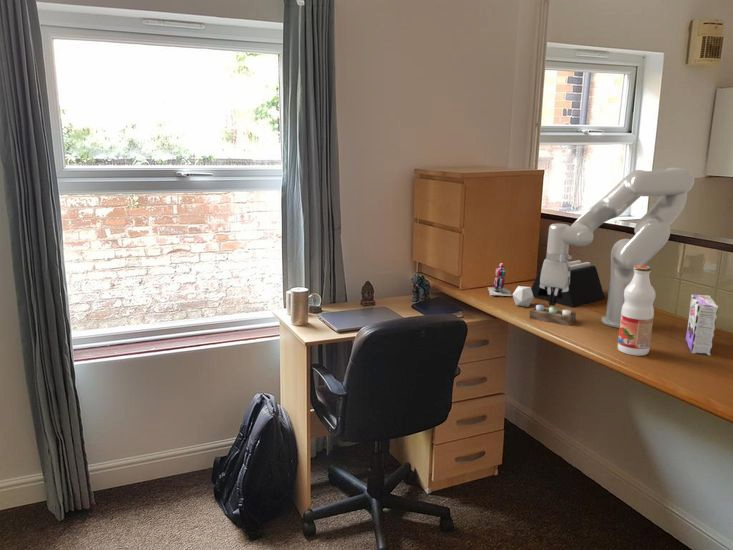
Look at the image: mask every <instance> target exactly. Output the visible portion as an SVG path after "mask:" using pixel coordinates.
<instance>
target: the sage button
mask: <svg viewBox="0 0 733 550" xmlns="http://www.w3.org/2000/svg"><path fill="white" fill-rule="evenodd" d="M548 308H549V313H555V314H557V309H558V307H557V306H550V307H548Z"/></svg>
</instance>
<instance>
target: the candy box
mask: <svg viewBox="0 0 733 550" xmlns="http://www.w3.org/2000/svg"><path fill="white" fill-rule="evenodd" d="M688 311H689V312H688V319H687V329H686V334H685V343H686V344H687V346H688V349H689V351H690V353H691V354H695V355H696V354H697V355H703V356H704V355H705V356H711V355H712V348H713V342H714V337H715V331H716V330H715V329H716V325H717V317H718V313H719V312H718V311H719V306H718V305H717V304H716V302H715V301H714V299H713V298H712V297H711V295H708V294H707V295H706V294H695V293H694V294H693V293H692V294H691V297H690V305H689V310H688Z"/></svg>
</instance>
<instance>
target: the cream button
mask: <svg viewBox="0 0 733 550" xmlns="http://www.w3.org/2000/svg"><path fill="white" fill-rule="evenodd" d="M561 310H562V315H567V316H570V315H571V312H572V309H569V308H563V309H561Z"/></svg>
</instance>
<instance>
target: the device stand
mask: <svg viewBox="0 0 733 550" xmlns="http://www.w3.org/2000/svg"><path fill="white" fill-rule="evenodd" d="M569 262H570V285H569V286H568V288H569V291H567V292H561V293H559V294H558V299H557V303H556V304H557V305H561V306H565V307H568V308H573V309H574V308H576V307H579V306H583V305H587V304H590V303H595V302H597V301H601V300H605V298H606V297H605V294H604V291H603V286H602V283H601V280H600V276H599V273H598V270H597V267H596V266H595V265H591V262H590V261H585V262H582V260H580V259H579V260H573V261H569ZM541 271H542V268H540V269H539V272H537V273H538V274H537V276H536V278H535V279H534V282H533V283H532V286H530V287H531V290H532V293H533V296H534V299H535V298H536V299H538V300H543V301H546V302H548V297H549V295H548V293H547V291H546V290H545V289H543V288H540V287H539V286H540V276H541ZM554 292H555V288H554V287H553V293H554Z"/></svg>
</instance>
